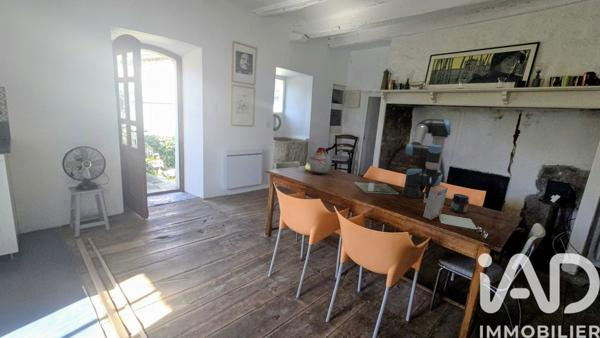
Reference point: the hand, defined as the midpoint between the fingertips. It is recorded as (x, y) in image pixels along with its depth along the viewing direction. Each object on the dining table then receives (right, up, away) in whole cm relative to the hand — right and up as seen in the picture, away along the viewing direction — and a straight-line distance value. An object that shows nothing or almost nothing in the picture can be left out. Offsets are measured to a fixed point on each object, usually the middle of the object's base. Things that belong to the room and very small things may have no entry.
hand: (425, 202), depth 177 cm
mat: (+18, -12, -5) cm, 22 cm away
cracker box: (+4, -10, 0) cm, 10 cm away
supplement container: (+31, -9, +15) cm, 35 cm away
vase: (-64, +17, +104) cm, 123 cm away
